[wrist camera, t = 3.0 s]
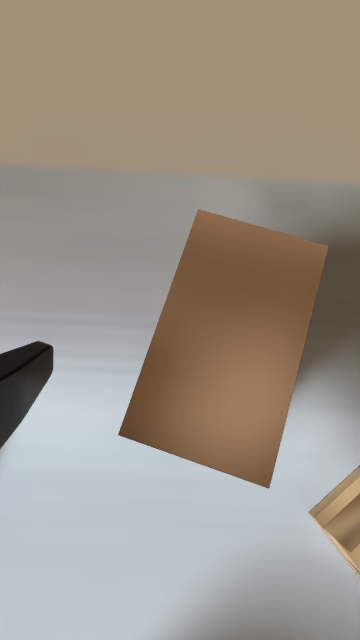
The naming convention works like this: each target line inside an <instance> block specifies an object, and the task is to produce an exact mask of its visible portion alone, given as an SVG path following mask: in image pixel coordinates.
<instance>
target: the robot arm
mask: <svg viewBox="0 0 360 640" xmlns="http://www.w3.org/2000/svg"><path fill="white" fill-rule="evenodd" d="M52 371H53V347H52V346H51V345H50V344H47V343H44V342H40V341H37V342H33V343H31V344H28V345H25V346H22V347H19V348H16V349H13V350H11V351H8V352H5V353H2V354H0V449H1V447H2V446H3V445H4V443H5V442H6V441H7V440H8V438H9V437H10V436H11V435H12V433H13V432H14V431H15V430H16V428H17V427H18V426H19V424H20V423H21V422H22V420H23V419H24V417H25V416H26V414H27V413H28V411H29V409H30V408H31V406H32V405H33V403H34V401H35V400H36V398H37V397H38V395H39V393H40V392H41V390H42V389H43V387H44V386H45V384H46V382H47V381H48V379H49V378H50V376H51V374H52Z"/></svg>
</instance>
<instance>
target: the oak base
mask: <svg viewBox="0 0 360 640" xmlns="http://www.w3.org/2000/svg"><path fill="white" fill-rule="evenodd" d="M309 513H310V515H311V516H312V517H313V519H314V520H315V521H316V522H317V524H318V525H319V526H320V527H321V529H322V530H323V531H324V533H325V534H326V535H327V536H328V538H329V539H330V540H331V542H332V543H333V544H334V545H335V547H336V548H337V549H338V550H339V552H340V553H341V554H342V556H343V557H344V558H345V559H346V561H347V562H348V563H349V564H350V566H351V567H352V568H353V570H354V571H355V572H356V573H357V575H358V576H359V577H360V466H359V467H358V468H357V469H356V470H355V471H354V472H353V473H351V474H350V475H349V476H348V477H347V478H346V479H345V480H344V481H343V482H342V483H340V484H339V485H338V486H337V487H336V488H335V489H334V490H333V491H332V492H331V493H329V494H328V495H327V496H326V497H325V498H324V499H323V500H322V501H321V502H320V503H318V504H317V505H316V506H315V507H314V508H313V509H312V510H311V511H310V512H309Z"/></svg>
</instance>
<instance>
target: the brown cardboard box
mask: <svg viewBox="0 0 360 640" xmlns="http://www.w3.org/2000/svg"><path fill="white" fill-rule="evenodd" d="M328 247H329V246H327V245H324V244H320V243H316V242H313V241H309V240H306V239H302V238H299V237H295V236H291V235H288V234H284V233H281V232H277V231H274V230H270V229H267V228H263V227H259V226H256V225H252V224H249V223H245V222H242V221H238V220H235V219H231V218H227V217H224V216H220V215H217V214H213V213H210V212H206V211H202V210H199V209H198V211H197V214H196V217H195V220H194V223H193V225H192V228H191V231H190V234H189V237H188V239H187V242H186V245H185V248H184V251H183V254H182V256H181V259H180V262H179V265H178V268H177V270H176V273H175V276H174V279H173V282H172V285H171V287H170V290H169V293H168V296H167V299H166V301H165V304H164V307H163V310H162V313H161V316H160V318H159V321H158V324H157V327H156V330H155V333H154V335H153V338H152V341H151V344H150V347H149V349H148V352H147V355H146V358H145V361H144V364H143V366H142V369H141V372H140V375H139V378H138V380H137V383H136V386H135V389H134V392H133V395H132V397H131V400H130V403H129V406H128V409H127V411H126V414H125V417H124V420H123V423H122V426H121V428H120V431H119V434H118V435H120V436H123V437H125V438H128V439H131V440H134V441H137V442H139V443H142V444H145V445H148V446H151V447H153V448H156V449H159V450H162V451H165V452H168V453H170V454H173V455H176V456H179V457H182V458H184V459H187V460H190V461H193V462H196V463H198V464H201V465H204V466H207V467H210V468H213V469H215V470H218V471H221V472H224V473H227V474H229V475H232V476H235V477H238V478H241V479H244V480H246V481H249V482H252V483H255V484H258V485H260V486H263V487H266V488H269V487H270V483H271V479H272V475H273V471H274V467H275V463H276V459H277V454H278V450H279V446H280V442H281V438H282V434H283V430H284V426H285V422H286V418H287V414H288V410H289V406H290V402H291V398H292V394H293V390H294V385H295V381H296V377H297V373H298V369H299V365H300V361H301V357H302V353H303V349H304V345H305V341H306V337H307V333H308V329H309V325H310V321H311V316H312V312H313V308H314V304H315V300H316V296H317V292H318V288H319V284H320V280H321V276H322V272H323V268H324V264H325V260H326V256H327V251H328Z"/></svg>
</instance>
